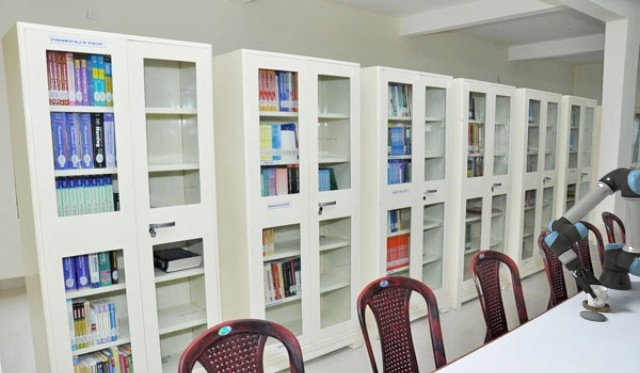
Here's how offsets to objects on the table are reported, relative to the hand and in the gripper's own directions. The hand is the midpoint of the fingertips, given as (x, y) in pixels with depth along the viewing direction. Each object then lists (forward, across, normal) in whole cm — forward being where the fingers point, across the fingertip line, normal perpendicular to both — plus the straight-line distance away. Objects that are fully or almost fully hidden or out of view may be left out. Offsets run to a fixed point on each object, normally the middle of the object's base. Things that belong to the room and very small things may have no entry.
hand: (604, 301), depth 220 cm
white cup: (+1, 0, -6) cm, 6 cm away
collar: (0, 0, -5) cm, 5 cm away
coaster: (+3, +13, -3) cm, 14 cm away
